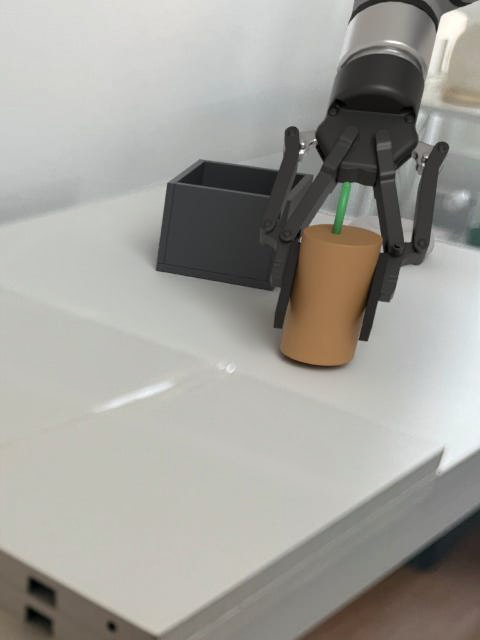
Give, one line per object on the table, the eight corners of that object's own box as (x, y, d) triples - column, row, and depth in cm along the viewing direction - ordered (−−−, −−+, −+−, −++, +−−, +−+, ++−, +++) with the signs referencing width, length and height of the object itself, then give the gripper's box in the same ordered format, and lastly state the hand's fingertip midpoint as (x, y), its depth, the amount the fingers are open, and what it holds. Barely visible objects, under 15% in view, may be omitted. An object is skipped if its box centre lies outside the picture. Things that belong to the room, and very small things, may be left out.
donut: (364, 237, 124) (324, 252, 118) (372, 207, 122) (331, 220, 116) (444, 257, 118) (406, 273, 112) (453, 226, 116) (415, 240, 110)
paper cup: (365, 351, 91) (408, 184, 83) (335, 372, 87) (377, 197, 79) (299, 333, 94) (334, 170, 86) (266, 352, 90) (300, 182, 82)
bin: (296, 258, 115) (314, 174, 110) (272, 290, 106) (290, 200, 101) (187, 240, 119) (199, 158, 114) (155, 270, 110) (166, 182, 104)
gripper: (487, 119, 90) (433, 364, 87) (264, 98, 95) (206, 330, 92) (511, 58, 83) (453, 323, 80) (268, 38, 87) (205, 288, 85)
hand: (321, 326), depth 86 cm, fingers closed on paper cup, 6 cm apart
